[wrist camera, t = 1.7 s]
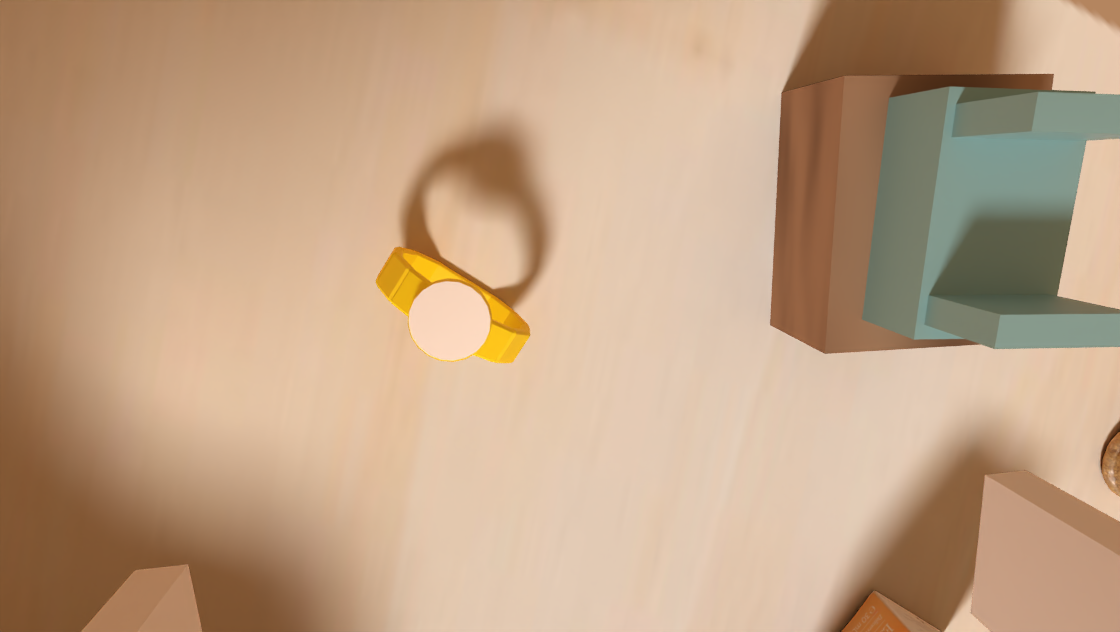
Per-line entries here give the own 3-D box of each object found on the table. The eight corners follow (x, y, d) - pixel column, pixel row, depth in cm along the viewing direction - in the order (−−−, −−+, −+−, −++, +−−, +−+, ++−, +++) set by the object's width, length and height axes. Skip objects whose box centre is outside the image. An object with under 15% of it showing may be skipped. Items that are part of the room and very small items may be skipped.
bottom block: (767, 323, 29) (825, 353, 24) (778, 93, 27) (844, 75, 22) (930, 315, 30) (1016, 342, 25) (953, 91, 28) (1053, 74, 23)
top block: (862, 319, 24) (981, 365, 18) (888, 97, 22) (1031, 71, 17) (982, 318, 25) (1136, 362, 19) (1018, 102, 23) (1198, 78, 17)
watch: (382, 283, 27) (343, 306, 21) (417, 227, 26) (387, 234, 21) (504, 357, 28) (499, 399, 22) (538, 304, 27) (543, 332, 21)
